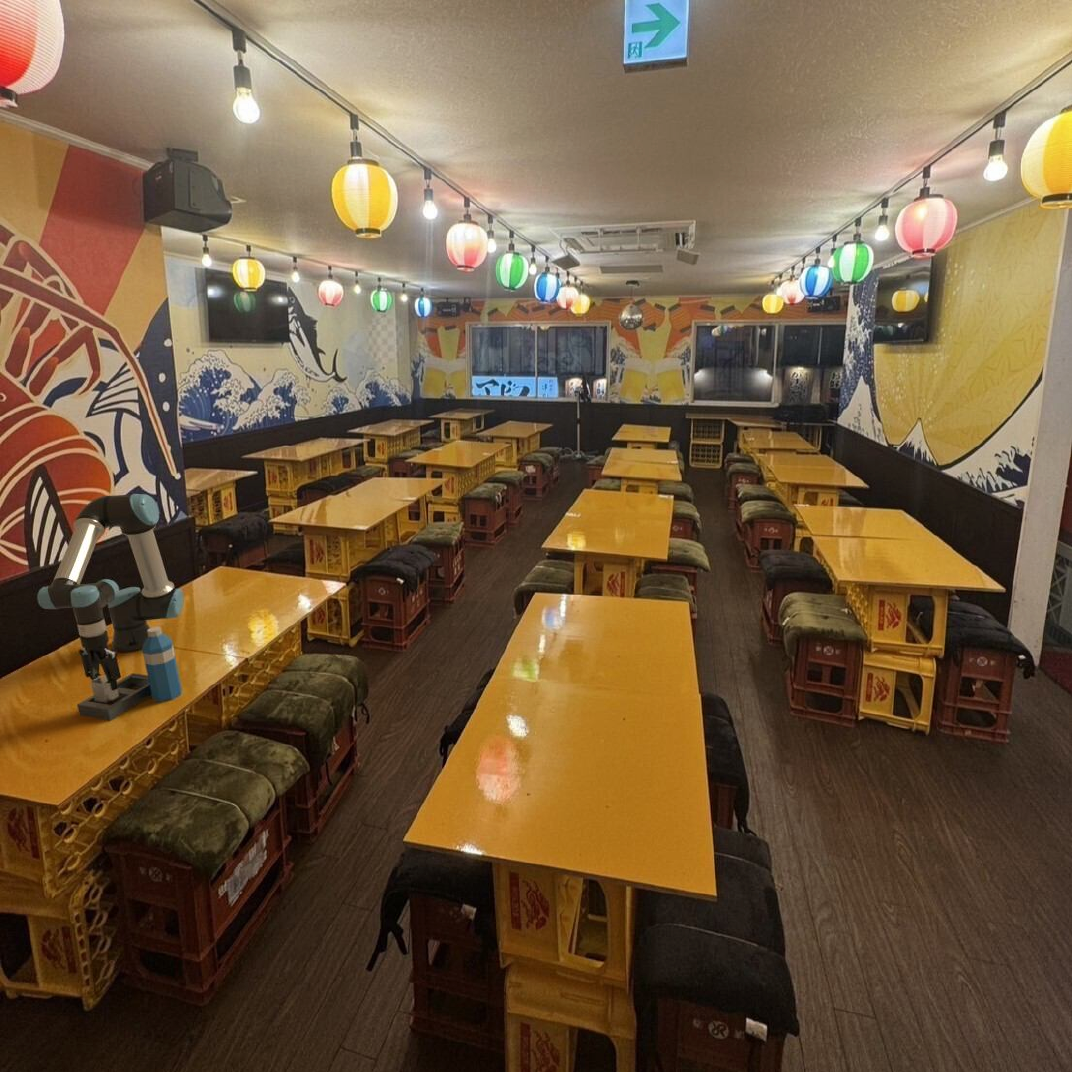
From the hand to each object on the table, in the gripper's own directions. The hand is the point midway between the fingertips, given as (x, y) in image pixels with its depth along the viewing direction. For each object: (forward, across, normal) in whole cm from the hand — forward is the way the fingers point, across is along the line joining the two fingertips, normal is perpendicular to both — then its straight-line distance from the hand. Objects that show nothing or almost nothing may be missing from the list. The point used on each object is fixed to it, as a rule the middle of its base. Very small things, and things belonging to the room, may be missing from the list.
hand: (107, 696), depth 226 cm
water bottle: (+5, +12, +12) cm, 18 cm away
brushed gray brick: (0, 0, 0) cm, 0 cm away
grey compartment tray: (+4, 0, +5) cm, 7 cm away
